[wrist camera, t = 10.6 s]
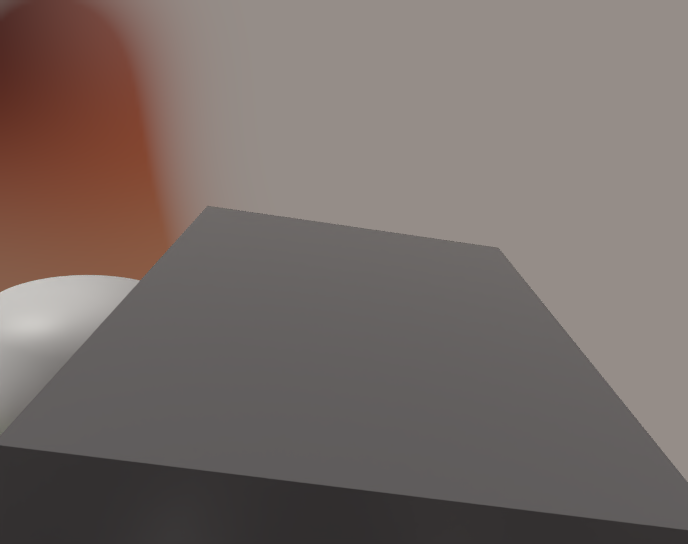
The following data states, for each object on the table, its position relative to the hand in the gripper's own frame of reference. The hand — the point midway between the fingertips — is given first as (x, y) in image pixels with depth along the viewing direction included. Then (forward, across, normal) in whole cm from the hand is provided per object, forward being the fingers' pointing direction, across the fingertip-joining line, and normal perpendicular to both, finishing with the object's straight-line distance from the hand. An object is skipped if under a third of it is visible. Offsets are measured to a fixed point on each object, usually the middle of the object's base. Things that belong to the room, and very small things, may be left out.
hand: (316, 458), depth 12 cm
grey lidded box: (-3, 0, +7) cm, 7 cm away
